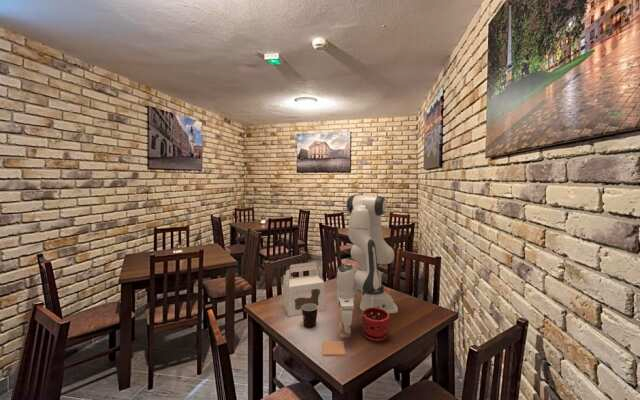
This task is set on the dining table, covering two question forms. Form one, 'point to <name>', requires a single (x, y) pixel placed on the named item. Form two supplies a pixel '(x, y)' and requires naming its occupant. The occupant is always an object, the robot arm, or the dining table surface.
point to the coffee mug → (309, 315)
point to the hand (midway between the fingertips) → (345, 325)
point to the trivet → (333, 348)
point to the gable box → (303, 288)
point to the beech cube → (344, 333)
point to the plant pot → (375, 324)
